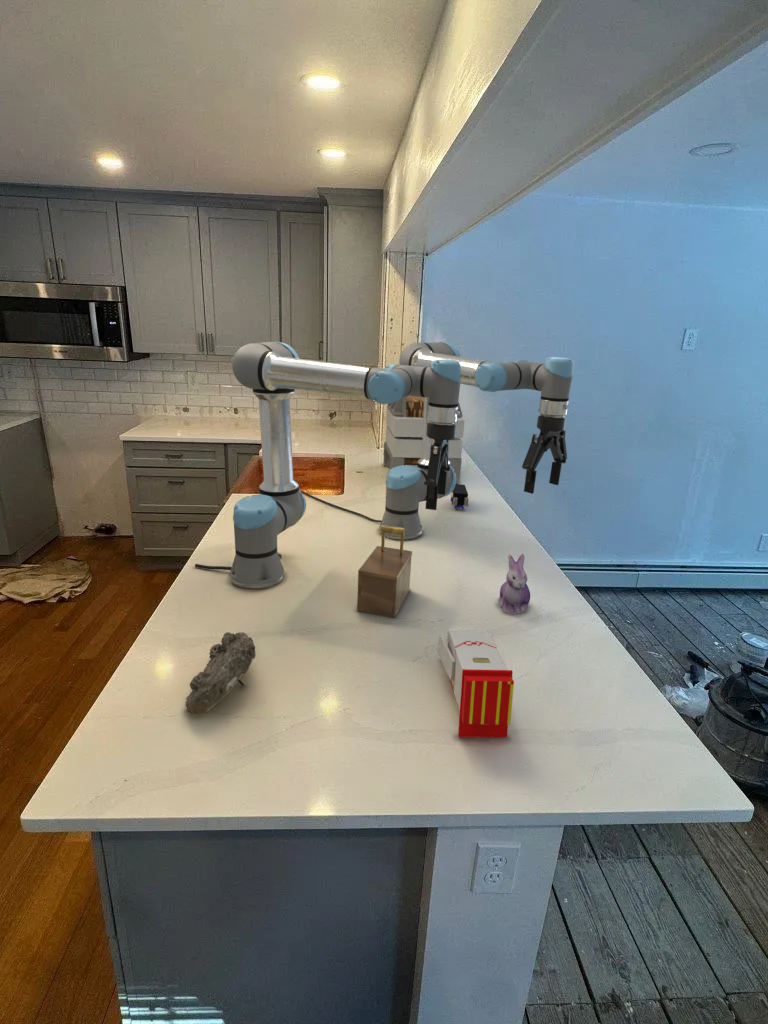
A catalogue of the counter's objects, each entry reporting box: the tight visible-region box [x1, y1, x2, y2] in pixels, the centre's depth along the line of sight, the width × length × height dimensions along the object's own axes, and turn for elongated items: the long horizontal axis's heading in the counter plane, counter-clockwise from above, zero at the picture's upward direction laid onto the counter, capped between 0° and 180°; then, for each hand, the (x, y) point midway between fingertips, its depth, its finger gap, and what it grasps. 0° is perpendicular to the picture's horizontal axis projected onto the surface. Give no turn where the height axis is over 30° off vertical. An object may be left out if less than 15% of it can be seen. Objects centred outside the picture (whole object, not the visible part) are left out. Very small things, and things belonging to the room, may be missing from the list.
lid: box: [357, 525, 413, 581], centre depth 150 cm, size 17×10×9 cm, turn 164°
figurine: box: [498, 553, 531, 615], centre depth 151 cm, size 9×10×15 cm
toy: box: [437, 628, 515, 738], centre depth 117 cm, size 12×13×30 cm
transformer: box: [383, 396, 465, 484], centre depth 268 cm, size 34×33×41 cm
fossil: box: [185, 631, 256, 715], centre depth 116 cm, size 22×10×15 cm
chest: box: [356, 557, 412, 618], centre depth 152 cm, size 16×10×10 cm, turn 164°
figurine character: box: [449, 483, 470, 511], centre depth 230 cm, size 7×8×15 cm
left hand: (435, 501), depth 152 cm, fingers open, 13 cm apart
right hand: (541, 488), depth 165 cm, fingers open, 13 cm apart
